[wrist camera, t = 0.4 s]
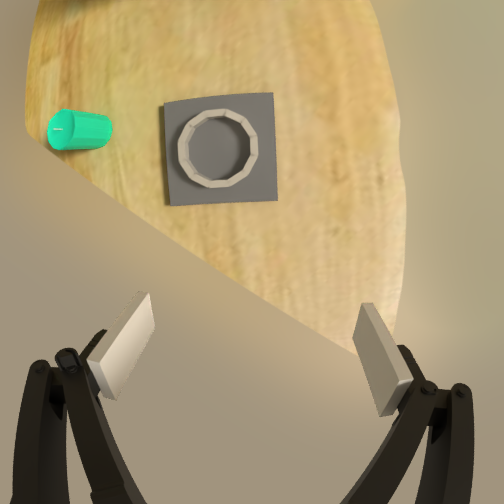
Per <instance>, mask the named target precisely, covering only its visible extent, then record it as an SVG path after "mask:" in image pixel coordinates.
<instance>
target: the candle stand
mask: <svg viewBox="0 0 504 504" xmlns="http://www.w3.org/2000/svg"><path fill="white" fill-rule="evenodd" d="M164 118H165V141H166V158H167V172H168V184H169V196H170V206H181V205H196V204H212V203H231V202H255V201H278V193H277V163H276V138H275V117H274V98H273V93H247V94H232V95H220V96H210V97H202V98H194V99H187V100H180V101H174V102H168V103H164Z"/></svg>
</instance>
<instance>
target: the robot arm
mask: <svg viewBox="0 0 504 504" xmlns="http://www.w3.org/2000/svg"><path fill="white" fill-rule="evenodd" d="M154 329H155V324H154V319H153V313H152V308H151V302H150V297H149V293H148V292H137V294H136V295H135V296H134V297H133V299H132V300H131V301H130V302H129V304H128V305H127V306H126V308H125V309H124V310H123V311H122V313H121V314H120V315H119V316H118V318H117V319H116V320H115V322H114V323H113V324H112V326H111V327H110V328H109V329H108V330H104V329H103V330H101V331H100V332H98V333H97V334H96V335H95V336H94V337H93V339H92V341H90V342H89V344H88V345H87V346H86V347H85V349H84V350H83V351H82V353H81V354H80V355H78V353H77V351H76V350H75V349H73V348H64V349H62V350H60V351H59V352H57V354H56V355H55V361H56V363H57V365H58V367H50V365H49V363H48V362H47V361H46V360H37V361H35V362H34V363H33V364H32V365H31V366H30V369H29V373H28V376H27V380H26V385H25V389H24V393H23V398H22V402H21V407H20V413H19V419H18V425H17V432H16V440H15V449H14V461H13V495H12V498H11V502H10V504H70V501H69V492H68V481H67V465H66V464H67V463H66V422H67V410H68V414H69V419H70V423H71V427H72V431H73V434H74V438H75V442H76V445H77V449H78V452H79V455H80V458H81V461H82V464H83V467H84V470H85V473H86V476H87V478H88V481H89V483H90V486H91V489H92V492H91V494H90V496H91V499H92V502H93V504H147V503H146V502H145V500H144V498H143V497H142V495H141V493H140V491H139V489H138V488H137V486H136V484H135V482H134V480H133V478H132V476H131V474H130V472H129V470H128V468H127V466H126V464H125V462H124V460H123V458H122V456H121V453H120V451H119V449H118V447H117V444H116V443H115V440H114V437H113V435H112V432H111V430H110V427H109V425H108V422H107V419H106V417H105V414H104V411H103V408H102V405H101V402H100V399H99V398H98V393H99V391H100V390H101V392H102V394H103V396H104V397H105V398H109V399H112V400H117V398H118V396H119V394H120V392H121V389H122V388H123V386H124V384H125V382H126V380H127V379H128V377H129V375H130V373H131V371H132V369H133V367H134V366H135V364H136V362H137V360H138V358H139V356H140V354H141V353H142V351H143V349H144V347H145V345H146V344H147V341H148V340H149V338H150V336H151V334H152V333H153V331H154ZM353 341H354V344H355V346H356V349H357V352H358V355H359V357H360V360H361V363H362V366H363V369H364V371H365V374H366V377H367V380H368V383H369V386H370V389H371V392H372V395H373V398H374V401H375V404H376V407H377V410H378V414H379V417H383V416H389V415H393V414H394V412H395V410H396V409H398V411H399V415H398V416H397V418H396V419H395V421H394V422H393V424H392V427H391V429H390V431H389V433H388V434H387V436H386V438H385V440H384V441H383V443H382V445H381V446H380V448H379V449H378V451H377V453H376V454H375V456H374V457H373V459H372V460H371V462H370V463H369V465H368V466H367V468H366V469H365V471H364V472H363V474H362V475H361V477H360V478H359V479H358V481H357V482H356V483H355V485H354V486H353V488H352V489H351V490H350V492H349V493H348V494H347V495H346V497H345V498H344V499H343V500H342V502H341V503H340V504H387V503H388V502H389V500H390V499H391V497H392V496H393V494H394V492H395V490H396V489H397V487H398V485H399V484H400V482H401V480H402V478H403V476H404V474H405V473H406V471H407V469H408V467H409V465H410V463H411V461H412V459H413V457H414V455H415V452H416V450H417V448H418V446H419V444H420V442H421V439H422V437H423V434H424V432H425V430H426V427H427V426H429V431H428V440H427V447H426V454H425V460H424V465H423V471H422V476H421V480H420V485H419V489H418V493H417V497H416V501H415V504H469V503H470V496H471V488H472V478H473V465H474V413H473V399H472V392H471V390H470V388H469V387H468V386H467V385H465V384H462V383H457V384H455V385H454V386H453V387H452V388H451V390H443V389H438V387H437V386H436V385H435V384H434V383H433V382H431V381H427V380H426V379H425V377H424V375H423V373H422V372H421V370H420V368H419V366H418V364H417V363H416V361H415V359H414V358H413V355H412V353H411V352H410V350H409V349H408V348H407V347H405V346H404V345H396V343H395V342H394V340H393V338H392V336H391V334H390V332H389V331H388V329H387V327H386V325H385V323H384V322H383V320H382V318H381V316H380V315H379V313H378V311H377V309H376V308H375V306H374V304H373V303H361V307H360V311H359V315H358V319H357V323H356V327H355V331H354V334H353Z"/></svg>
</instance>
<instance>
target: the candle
mask: <svg viewBox="0 0 504 504" xmlns="http://www.w3.org/2000/svg"><path fill="white" fill-rule="evenodd" d="M111 134H112V123H111V121H110V120H109V118H108V117H107V116H104V115H99V114H93V113H87V112H81V111H75V110H68V109H62V110H60V111H59V112H57V113H56V114H55V115H54V116H53V118H52V119H51V120H50V121H49V125H48V130H47V136H48V142H49V143H50V145H51V146H52V147H53V148H54V149H57V150H72V149H98V148H100V147H103V146H105V144H106V143H107V142H108V141H109V140H110V137H111Z"/></svg>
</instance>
